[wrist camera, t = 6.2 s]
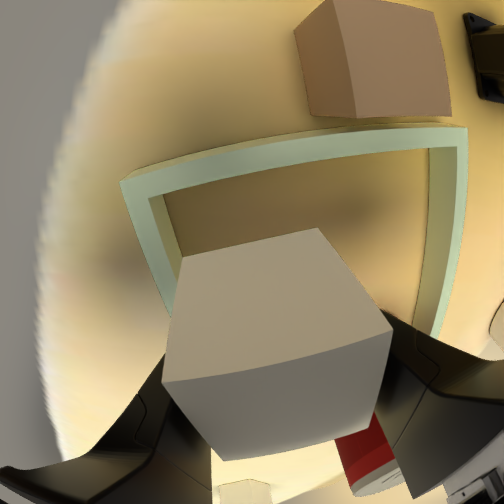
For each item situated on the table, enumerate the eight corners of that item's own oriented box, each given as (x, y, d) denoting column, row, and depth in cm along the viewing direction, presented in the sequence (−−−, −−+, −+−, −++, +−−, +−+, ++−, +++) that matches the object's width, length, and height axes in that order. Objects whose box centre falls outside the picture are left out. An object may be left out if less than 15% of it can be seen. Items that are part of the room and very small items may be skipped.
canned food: (298, 384, 21) (332, 506, 12) (329, 308, 18) (402, 460, 8) (375, 376, 23) (422, 475, 13) (415, 308, 19) (493, 415, 9)
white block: (317, 227, 9) (393, 329, 5) (324, 326, 11) (367, 428, 7) (182, 257, 9) (161, 382, 5) (217, 350, 11) (223, 461, 7)
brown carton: (374, 32, 10) (432, 12, 6) (388, 109, 12) (451, 116, 8) (293, 30, 10) (330, -5, 6) (310, 115, 12) (357, 118, 8)
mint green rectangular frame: (439, 122, 13) (467, 128, 11) (407, 369, 23) (418, 387, 21) (135, 170, 13) (118, 182, 10) (235, 418, 23) (237, 441, 21)
